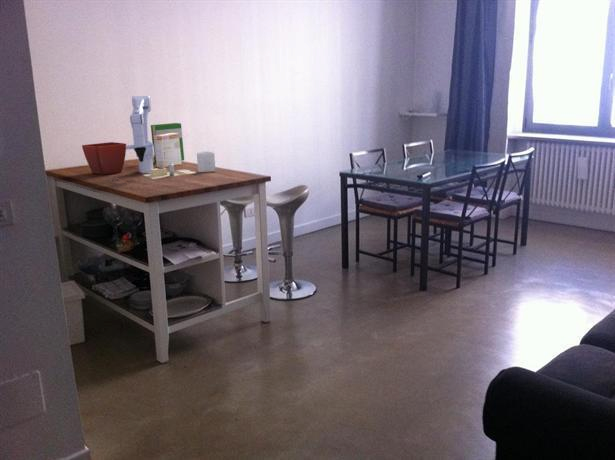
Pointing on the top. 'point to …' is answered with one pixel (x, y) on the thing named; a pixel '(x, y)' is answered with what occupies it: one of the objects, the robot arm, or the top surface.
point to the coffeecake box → (167, 149)
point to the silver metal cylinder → (171, 169)
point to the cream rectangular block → (158, 171)
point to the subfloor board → (177, 173)
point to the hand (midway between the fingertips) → (141, 161)
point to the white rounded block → (206, 161)
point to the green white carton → (167, 129)
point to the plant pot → (105, 157)
